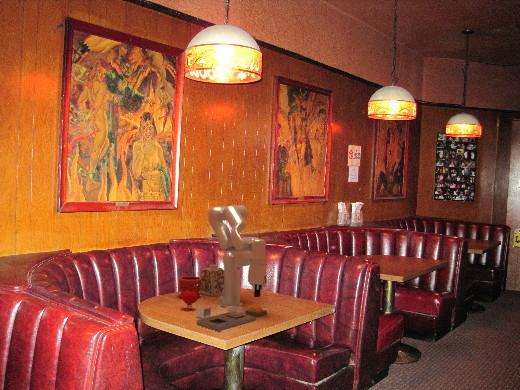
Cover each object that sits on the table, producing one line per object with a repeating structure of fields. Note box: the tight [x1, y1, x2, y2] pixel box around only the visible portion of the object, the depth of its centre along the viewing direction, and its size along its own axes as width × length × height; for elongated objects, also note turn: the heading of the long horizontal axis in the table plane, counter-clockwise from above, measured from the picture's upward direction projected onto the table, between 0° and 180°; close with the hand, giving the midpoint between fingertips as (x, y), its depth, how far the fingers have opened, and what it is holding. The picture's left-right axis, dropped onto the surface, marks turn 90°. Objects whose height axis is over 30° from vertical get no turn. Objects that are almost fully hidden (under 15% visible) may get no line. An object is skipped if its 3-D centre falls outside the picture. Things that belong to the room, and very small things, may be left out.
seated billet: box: [228, 306, 244, 319], centre depth 261 cm, size 5×5×6 cm
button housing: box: [245, 309, 268, 318], centre depth 272 cm, size 8×8×3 cm
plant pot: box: [179, 275, 201, 298], centre depth 308 cm, size 13×13×12 cm
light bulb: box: [181, 291, 199, 310], centre depth 281 cm, size 9×7×10 cm
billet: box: [196, 305, 212, 319], centre depth 263 cm, size 5×5×6 cm
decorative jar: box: [199, 264, 224, 297], centre depth 319 cm, size 12×12×18 cm
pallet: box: [196, 311, 257, 333], centre depth 256 cm, size 16×26×2 cm, turn 139°
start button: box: [250, 305, 263, 312], centre depth 272 cm, size 4×4×2 cm
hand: (257, 296), depth 271 cm, fingers closed
